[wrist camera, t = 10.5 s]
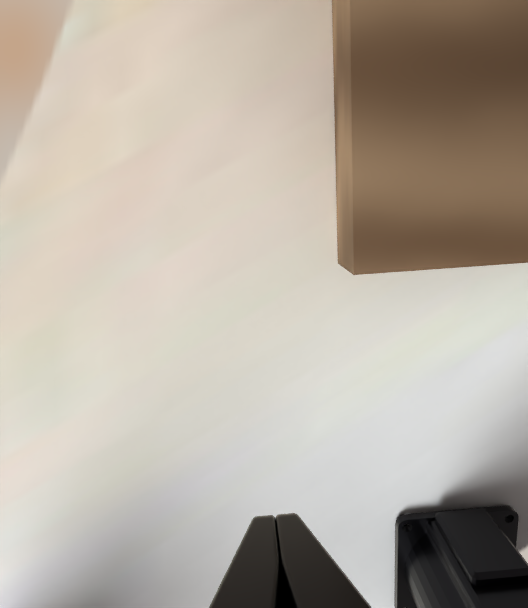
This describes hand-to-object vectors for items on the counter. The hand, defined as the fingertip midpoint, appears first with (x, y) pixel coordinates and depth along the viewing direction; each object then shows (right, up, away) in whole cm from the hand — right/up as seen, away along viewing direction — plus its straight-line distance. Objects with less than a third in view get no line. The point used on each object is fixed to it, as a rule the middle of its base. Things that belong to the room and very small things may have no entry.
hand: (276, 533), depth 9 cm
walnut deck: (+9, +14, +10) cm, 19 cm away
